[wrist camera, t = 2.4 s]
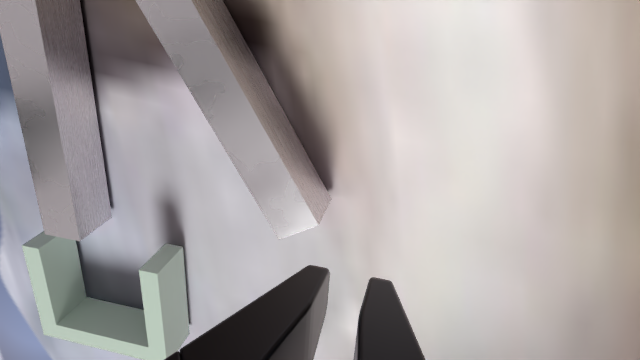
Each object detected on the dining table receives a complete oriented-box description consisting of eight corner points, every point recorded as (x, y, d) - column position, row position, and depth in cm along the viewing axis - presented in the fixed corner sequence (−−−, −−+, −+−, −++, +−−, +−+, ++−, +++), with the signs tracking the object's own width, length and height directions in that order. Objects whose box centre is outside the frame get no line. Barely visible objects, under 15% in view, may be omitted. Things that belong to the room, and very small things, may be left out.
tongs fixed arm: (79, 211, 26) (44, 234, 24) (13, -153, 19) (-45, -169, 17) (111, 217, 25) (79, 241, 23) (57, -152, 18) (3, -168, 16)
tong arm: (286, 216, 23) (267, 247, 20) (34, -216, 18) (-33, -246, 15) (341, 195, 22) (327, 225, 19) (87, -274, 17) (24, -316, 14)
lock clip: (74, 306, 29) (44, 334, 27) (57, 222, 27) (21, 245, 24) (189, 333, 28) (167, 365, 25) (183, 246, 25) (157, 274, 23)
